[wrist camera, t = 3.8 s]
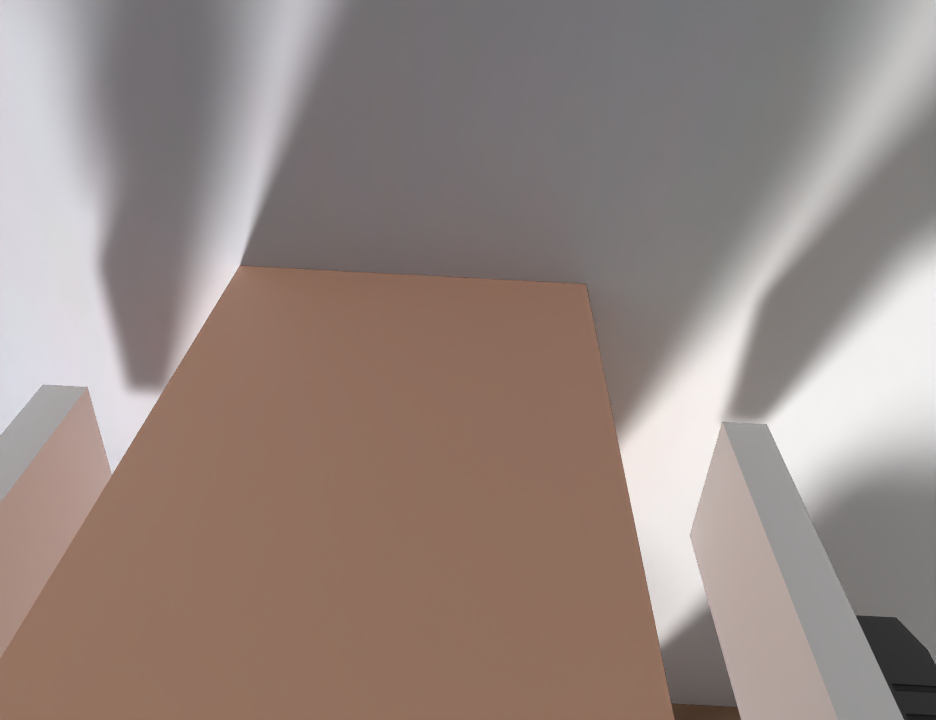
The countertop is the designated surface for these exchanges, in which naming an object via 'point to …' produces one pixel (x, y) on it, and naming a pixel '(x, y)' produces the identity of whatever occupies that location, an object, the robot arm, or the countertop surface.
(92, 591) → the terracotta block
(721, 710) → the walnut block
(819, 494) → the countertop surface
